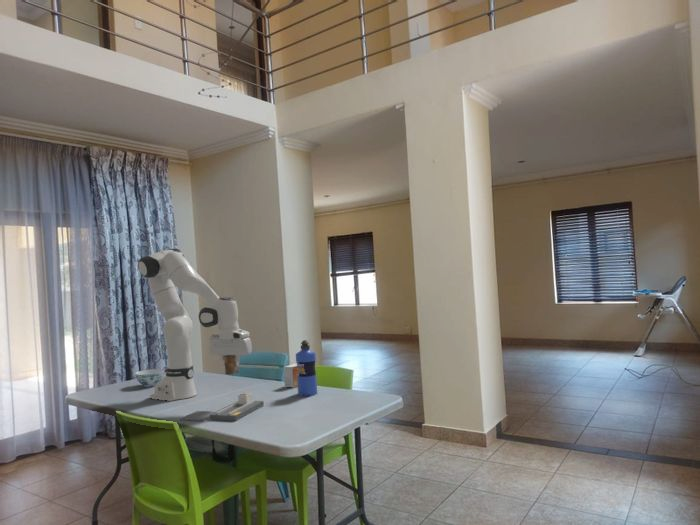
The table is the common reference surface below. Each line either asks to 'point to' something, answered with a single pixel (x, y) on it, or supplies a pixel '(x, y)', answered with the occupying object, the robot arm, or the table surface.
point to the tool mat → (197, 416)
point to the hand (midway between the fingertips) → (231, 365)
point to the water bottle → (306, 370)
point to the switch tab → (244, 398)
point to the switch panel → (236, 411)
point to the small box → (290, 375)
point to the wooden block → (230, 365)
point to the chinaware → (149, 377)
